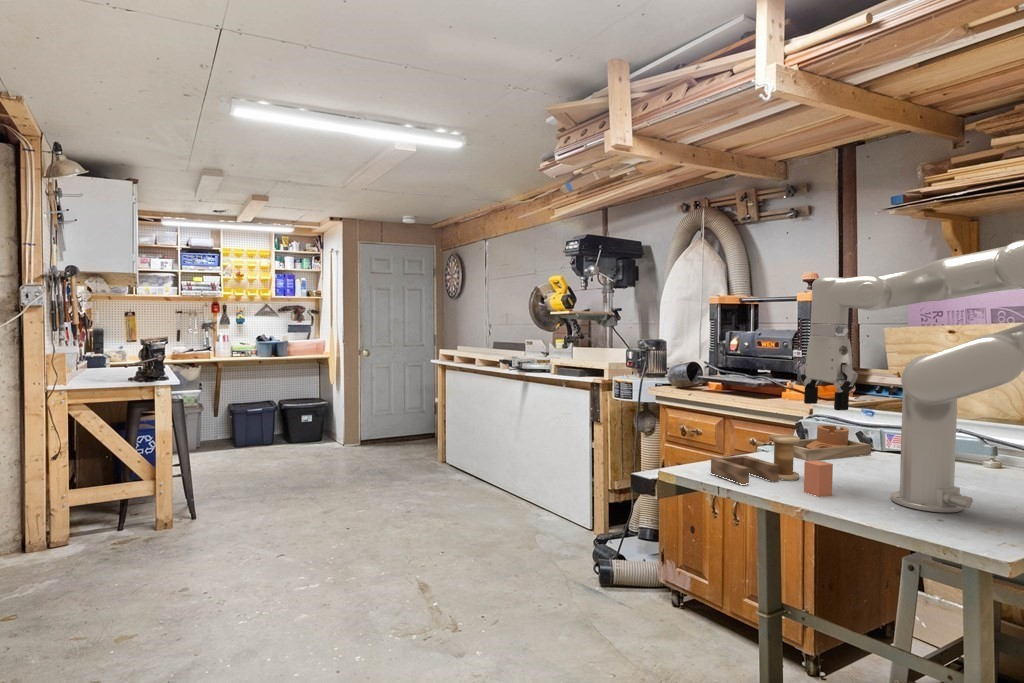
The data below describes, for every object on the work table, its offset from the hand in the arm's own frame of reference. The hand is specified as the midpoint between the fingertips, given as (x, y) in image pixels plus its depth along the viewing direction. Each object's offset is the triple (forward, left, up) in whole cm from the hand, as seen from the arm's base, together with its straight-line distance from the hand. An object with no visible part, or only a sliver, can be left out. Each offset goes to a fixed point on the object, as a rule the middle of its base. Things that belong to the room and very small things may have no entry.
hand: (825, 406), depth 140 cm
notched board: (+14, +10, -19) cm, 26 cm away
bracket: (+29, -34, -20) cm, 49 cm away
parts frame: (+29, -32, -19) cm, 47 cm away
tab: (-2, +4, -19) cm, 20 cm away
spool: (+12, 0, -19) cm, 22 cm away
